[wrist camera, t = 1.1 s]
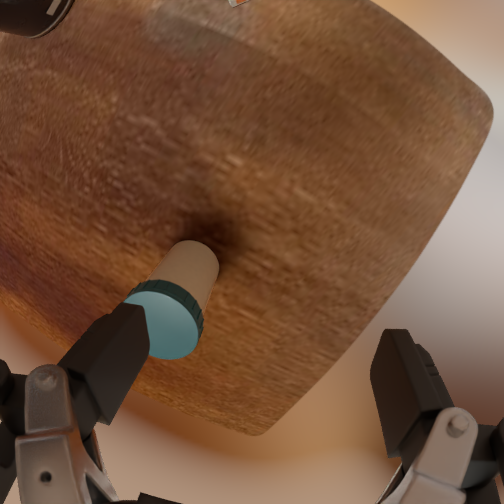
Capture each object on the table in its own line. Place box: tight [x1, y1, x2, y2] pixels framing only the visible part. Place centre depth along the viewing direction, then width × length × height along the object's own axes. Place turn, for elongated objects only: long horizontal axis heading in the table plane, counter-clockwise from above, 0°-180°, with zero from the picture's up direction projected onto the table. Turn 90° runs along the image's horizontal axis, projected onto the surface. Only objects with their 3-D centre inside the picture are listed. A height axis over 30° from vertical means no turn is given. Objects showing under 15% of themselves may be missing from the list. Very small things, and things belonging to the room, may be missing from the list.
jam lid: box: [124, 279, 204, 359], centre depth 23 cm, size 7×7×2 cm
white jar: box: [144, 240, 219, 316], centre depth 27 cm, size 6×6×11 cm
